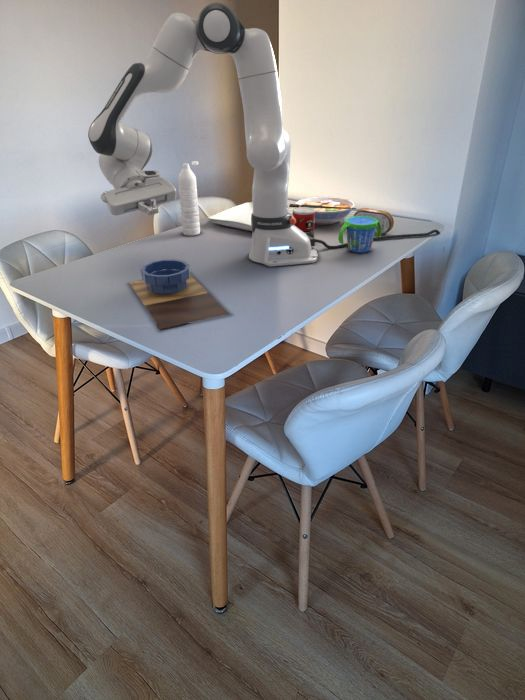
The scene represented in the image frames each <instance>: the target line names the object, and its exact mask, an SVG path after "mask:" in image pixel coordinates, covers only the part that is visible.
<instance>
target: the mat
mask: <svg viewBox="0 0 525 700" xmlns="http://www.w3.org/2000/svg"><path fill="white" fill-rule="evenodd" d="M144 307H145V309H146V310H147V311H148V313H149V314H150V316H151V317H152V319H153V320H154V322H155V323H156V326H157V328H158V329H159V330H160V331H163V330H168V329H172V328H177V327H181V326H186V325H191V324H192V323H194V322H199V321H203V320H207V319H213V318H217V317H221V316H227V315H230V313H229V312H228V311H227V310H226V309H225V308H224V307H223V306H222V305H221V304H220V303H219V301H217V300H216V299H215V298H214V297H213V296H212V294H210V293H209V292H208V293H205V294H200V295H195V296H190V297H185V298H180V299H175V300H170V301H165V302H160V303H155V304H150V305H144Z"/></svg>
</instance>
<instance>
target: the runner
mask: <svg viewBox="0 0 525 700" xmlns="http://www.w3.org/2000/svg"><path fill="white" fill-rule="evenodd" d="M187 280H188V284H187V287H186V288H184V289H183V290H182V291H180V292H177V293H174V294H156V293H153V292H151V291H150V290H148V289H147V286H146V283H145V282H144V281H143V280H142V279H140V280H135V281H129V282H128V283H129V285H130V286H131V288H132V290H133V291H134V293H136V295H137V297H138V298H139V300H140V301H141V303H142V304H143V306H145V305H150V304H155V303H160V302H165V301H170V300H175V299H180V298H185V297H190V296H195V295H200V294H205V293H209V292H208V290H207V289H205V288H204V287H203V286H202V284H201V283H200V282H198V281H197V279H196V278H194V276H193V275H192V274H190V277H189V279H187Z"/></svg>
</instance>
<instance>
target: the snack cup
mask: <svg viewBox="0 0 525 700" xmlns="http://www.w3.org/2000/svg"><path fill="white" fill-rule="evenodd" d="M376 227H377V232H376V234H374V233H375V228H376ZM345 231H346V241H347V242H346V243H348V246H347V248H348V250H349V252H353V253H356V254H363V253H368V252H370V251H371V248H372V247H373V242H374V240H373V238H374V237H381V236H382V235H381V234H382V228H381V223H380V222H379V221H378V220H377V219H375V218H373V217H368V216H354V215H353V216H349V217H347V218H345V220H344V223H343V224H342V226H341V227H340V230H339V233H338V242H339V244H340V245H341V244H344V232H345Z"/></svg>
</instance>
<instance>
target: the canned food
mask: <svg viewBox="0 0 525 700" xmlns="http://www.w3.org/2000/svg"><path fill="white" fill-rule="evenodd" d="M292 209H293V216H294V218H295V219H296V223H295V226H296V227H297V228H299V229H300V230H301V231H303V232H304V233H306V234H307V235H309V236H311V237H313V238H315V224H316V223H315V210H314V209H313V208H310V207H293V208H292Z"/></svg>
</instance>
